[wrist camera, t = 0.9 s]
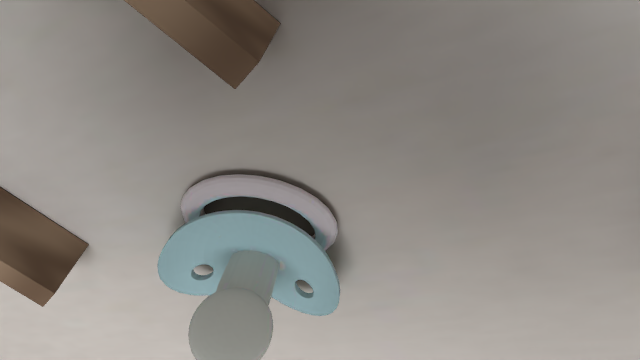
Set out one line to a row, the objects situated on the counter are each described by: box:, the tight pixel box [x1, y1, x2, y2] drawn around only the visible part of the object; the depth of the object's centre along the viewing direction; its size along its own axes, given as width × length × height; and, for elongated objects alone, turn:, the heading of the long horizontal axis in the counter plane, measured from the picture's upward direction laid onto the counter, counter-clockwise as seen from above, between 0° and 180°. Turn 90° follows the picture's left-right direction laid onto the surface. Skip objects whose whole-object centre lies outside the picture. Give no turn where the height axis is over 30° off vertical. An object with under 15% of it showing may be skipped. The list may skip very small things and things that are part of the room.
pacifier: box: [158, 174, 340, 360], centre depth 22 cm, size 7×6×6 cm
